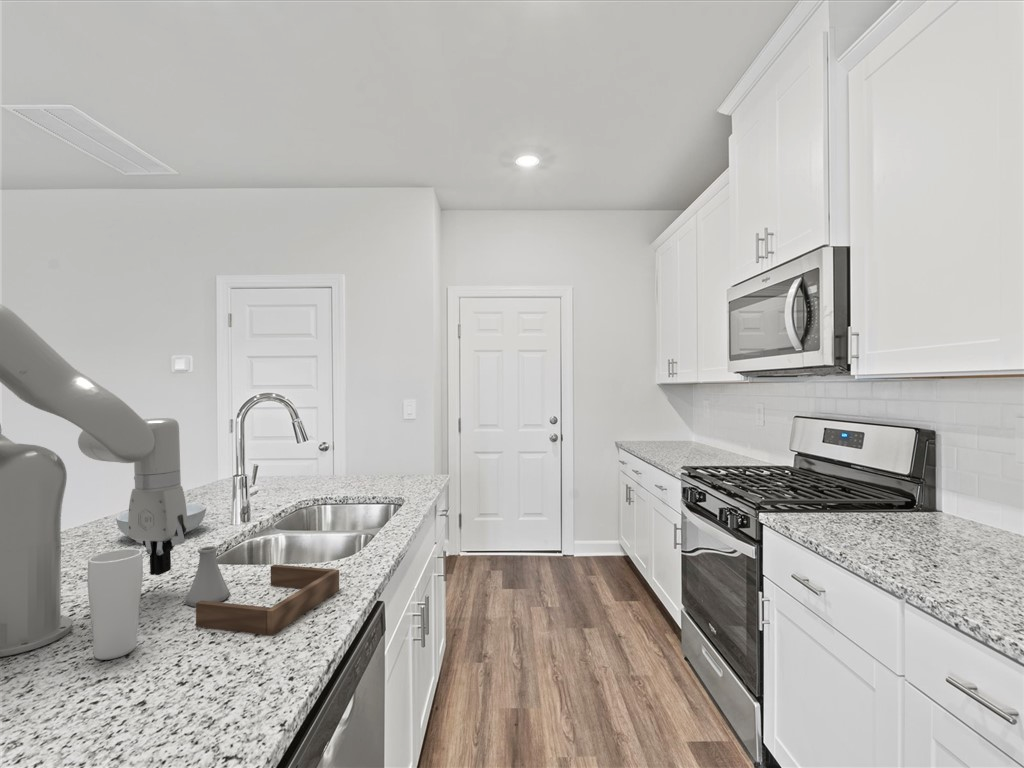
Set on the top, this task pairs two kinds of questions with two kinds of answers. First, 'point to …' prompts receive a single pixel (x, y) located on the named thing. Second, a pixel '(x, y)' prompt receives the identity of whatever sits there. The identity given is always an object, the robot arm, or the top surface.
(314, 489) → the top surface
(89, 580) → the white tall hollow cylinder
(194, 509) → the serving bowl
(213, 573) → the flask
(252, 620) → the box
